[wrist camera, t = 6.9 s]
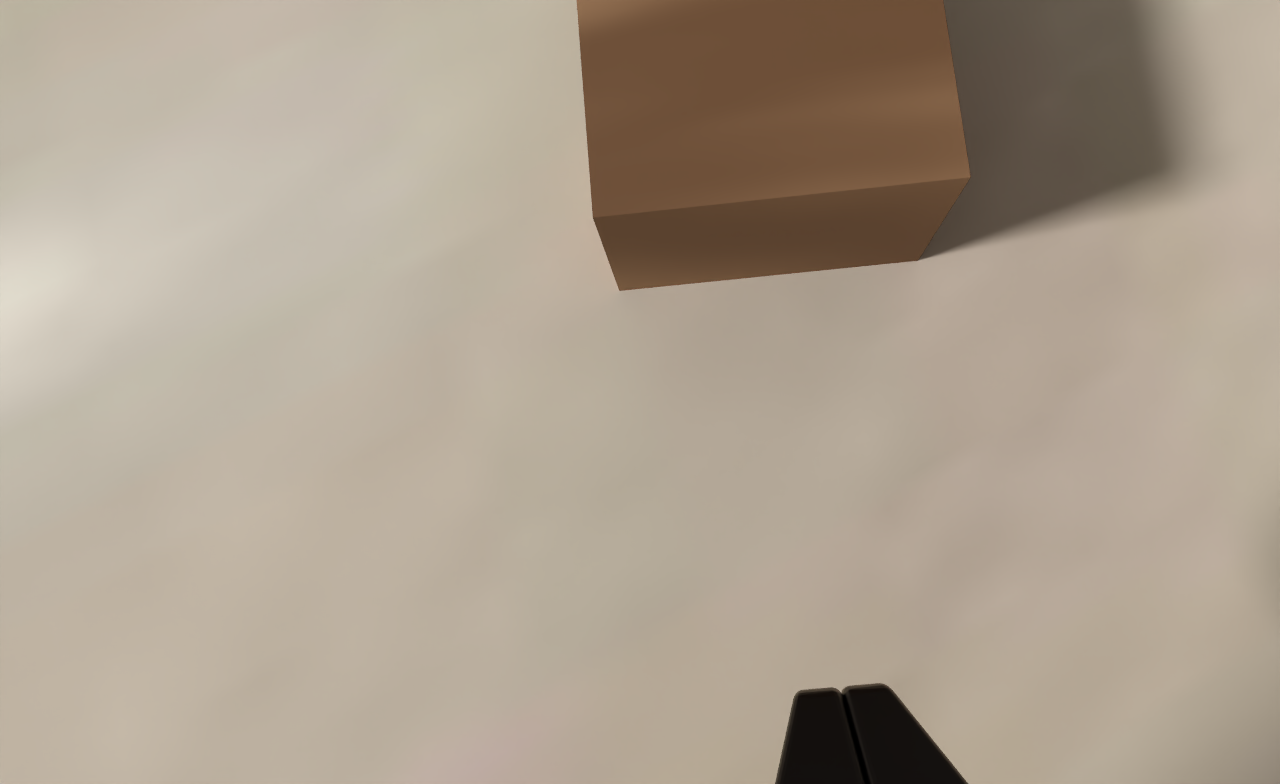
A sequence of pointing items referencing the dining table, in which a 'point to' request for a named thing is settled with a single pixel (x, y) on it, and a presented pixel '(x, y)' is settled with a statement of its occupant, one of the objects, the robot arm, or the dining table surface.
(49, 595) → the dining table surface
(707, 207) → the walnut block
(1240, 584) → the dining table surface
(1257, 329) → the dining table surface
